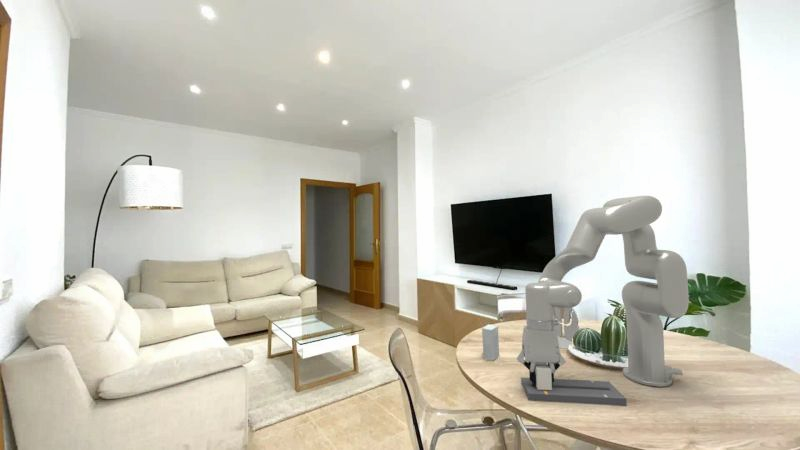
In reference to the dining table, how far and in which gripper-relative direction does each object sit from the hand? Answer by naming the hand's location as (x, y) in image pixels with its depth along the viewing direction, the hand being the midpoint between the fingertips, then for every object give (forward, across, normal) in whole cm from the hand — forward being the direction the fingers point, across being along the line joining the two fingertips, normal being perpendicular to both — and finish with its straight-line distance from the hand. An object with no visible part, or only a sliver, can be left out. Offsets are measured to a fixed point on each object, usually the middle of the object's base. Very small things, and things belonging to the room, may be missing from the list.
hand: (541, 383), depth 95 cm
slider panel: (+3, -8, 0) cm, 8 cm away
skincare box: (+3, +12, -25) cm, 28 cm away
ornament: (+3, -17, -45) cm, 48 cm away
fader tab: (0, 0, 0) cm, 0 cm away
